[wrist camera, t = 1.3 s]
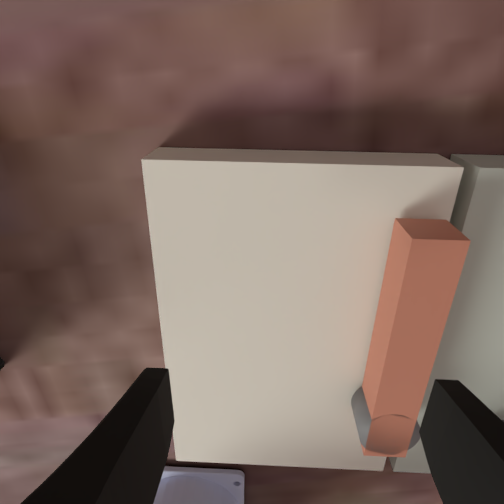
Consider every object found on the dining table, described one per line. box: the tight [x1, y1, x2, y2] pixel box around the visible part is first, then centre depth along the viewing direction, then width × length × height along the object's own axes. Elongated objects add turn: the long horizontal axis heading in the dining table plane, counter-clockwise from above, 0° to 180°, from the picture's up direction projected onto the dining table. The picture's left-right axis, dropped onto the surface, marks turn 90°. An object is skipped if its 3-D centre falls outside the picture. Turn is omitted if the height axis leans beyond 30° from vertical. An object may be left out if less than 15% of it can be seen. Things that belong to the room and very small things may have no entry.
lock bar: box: [351, 218, 471, 458], centre depth 16 cm, size 12×3×2 cm, turn 179°
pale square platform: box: [141, 147, 504, 473], centre depth 18 cm, size 18×24×5 cm
